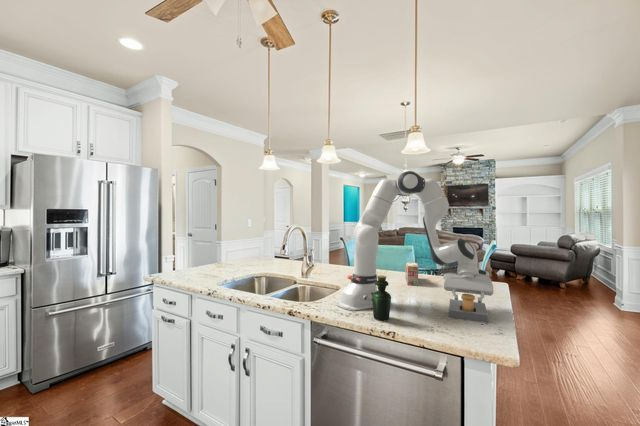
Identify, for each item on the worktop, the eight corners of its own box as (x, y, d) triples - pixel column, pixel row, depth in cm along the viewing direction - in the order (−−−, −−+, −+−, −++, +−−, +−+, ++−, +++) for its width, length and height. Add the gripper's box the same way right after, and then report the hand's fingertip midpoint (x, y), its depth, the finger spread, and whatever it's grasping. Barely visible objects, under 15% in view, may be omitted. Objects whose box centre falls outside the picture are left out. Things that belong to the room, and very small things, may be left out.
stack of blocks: (405, 277, 208) (405, 259, 208) (414, 278, 206) (415, 260, 206) (407, 285, 187) (407, 265, 187) (418, 286, 186) (418, 266, 185)
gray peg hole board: (488, 322, 127) (488, 308, 127) (448, 316, 133) (449, 303, 133) (484, 309, 143) (484, 297, 143) (449, 305, 149) (450, 293, 149)
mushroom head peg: (470, 318, 131) (471, 297, 131) (458, 315, 135) (459, 295, 135) (476, 316, 134) (477, 296, 134) (464, 312, 138) (465, 293, 138)
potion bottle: (386, 314, 135) (387, 274, 135) (393, 321, 127) (394, 278, 127) (369, 315, 134) (369, 274, 134) (375, 322, 126) (375, 278, 126)
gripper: (443, 268, 145) (442, 293, 136) (492, 272, 137) (494, 300, 128) (443, 275, 149) (442, 301, 140) (491, 280, 141) (493, 307, 132)
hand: (467, 300), depth 134 cm, fingers open, 8 cm apart
